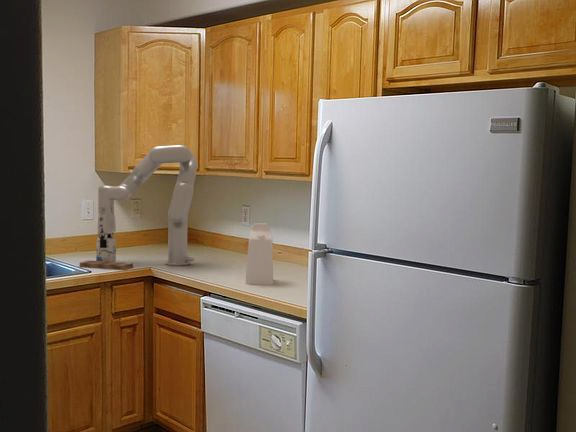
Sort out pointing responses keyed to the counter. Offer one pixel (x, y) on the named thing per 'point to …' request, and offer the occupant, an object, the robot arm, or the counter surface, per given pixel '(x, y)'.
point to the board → (106, 265)
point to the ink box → (106, 250)
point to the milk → (260, 255)
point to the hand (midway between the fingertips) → (106, 246)
